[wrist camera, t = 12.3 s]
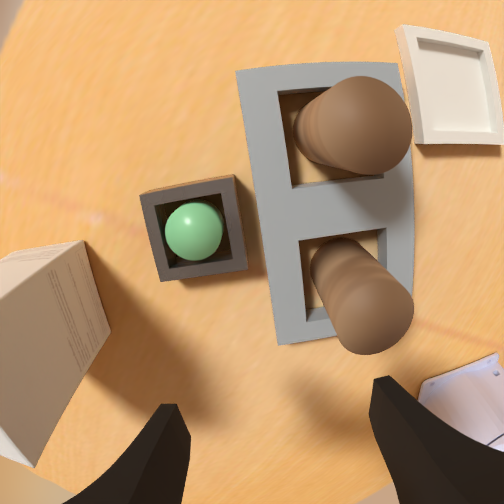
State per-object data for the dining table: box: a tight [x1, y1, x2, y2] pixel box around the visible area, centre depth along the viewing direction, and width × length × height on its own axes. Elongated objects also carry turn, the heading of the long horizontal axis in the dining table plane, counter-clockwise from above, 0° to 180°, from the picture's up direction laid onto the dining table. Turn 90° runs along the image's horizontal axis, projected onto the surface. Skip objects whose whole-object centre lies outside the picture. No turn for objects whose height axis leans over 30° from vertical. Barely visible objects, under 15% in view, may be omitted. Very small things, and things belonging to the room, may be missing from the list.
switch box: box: [139, 174, 248, 282], centre depth 17 cm, size 5×5×2 cm
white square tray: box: [394, 24, 504, 145], centre depth 14 cm, size 8×8×1 cm
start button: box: [165, 199, 224, 260], centre depth 17 cm, size 3×3×2 cm
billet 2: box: [310, 238, 414, 355], centre depth 16 cm, size 4×4×6 cm
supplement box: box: [0, 240, 111, 468], centre depth 13 cm, size 7×7×13 cm
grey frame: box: [235, 62, 414, 345], centre depth 17 cm, size 9×16×2 cm, turn 9°
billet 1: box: [293, 76, 412, 175], centre depth 13 cm, size 4×4×6 cm
